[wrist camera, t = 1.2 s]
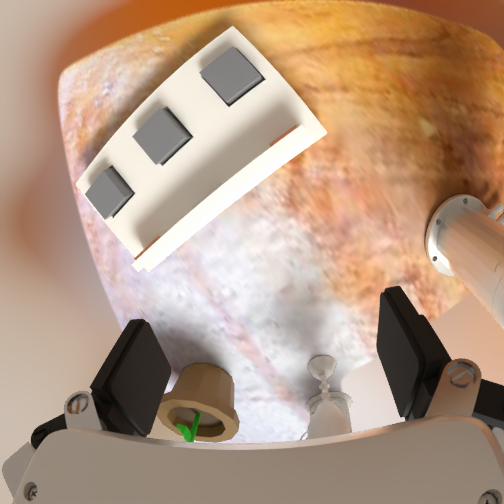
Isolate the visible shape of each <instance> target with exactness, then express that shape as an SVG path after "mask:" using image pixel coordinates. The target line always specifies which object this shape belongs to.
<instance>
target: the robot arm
mask: <svg viewBox="0 0 504 504" xmlns="http://www.w3.org/2000/svg"><path fill="white" fill-rule="evenodd" d="M503 209H504V207H503V205H502V203H501V202H498V203H497V204H495V205H494V206H493V208H492V209H486V207H485V205H484V204H483V203H482V202H481V201H480V200H479V199H477V198H475V197H474V196H471V195H468V194H459V195H455V196H453V197H450V198H448V199H447V200H446V201H445V202H443V203H442V204H441V205H440V206H439V207H438V209H437V210H436V212H435V213H434V215H433V216H432V218H431V220H430V223H429V226H428V229H427V233H426V239H425V247H426V253H427V256H428V259H429V261H430V263H431V264H432V266H433V267H434V268H435V269H436V270H437V271H438V272H440V273H441V274H444V275H446V276H457V277H458V278H459V279H460V280H461V281H462V282H463V284H464V285H465V286H466V287H467V288H468V289H469V290H470V291H471V292H472V293H473V295H474V296H475V297H476V298H477V299H478V300H479V301H480V303H481V304H482V305H483V306H484V307H485V308H486V310H487V311H488V312H489V313H490V315H491V316H492V317H493V318H494V319H495V321H496V322H497V323H498V325H499V326H500V327H501V328H502V329H503V330H504V212H503V213H502V214H501V215H500V216H499V218H498V219H496V220H495V216H496V215H497V214H499V213H500V212H501V211H502V210H503ZM436 220H437V221H436ZM376 346H377V352H378V355H379V358H380V360H381V363H382V366H383V369H384V371H385V374H386V377H387V380H388V382H389V386H390V388H391V391H392V394H393V397H394V400H395V403H396V406H397V409H398V413H399V415H400V417H405V420H406V421H405V422H401V423H396V424H392V425H387V426H383V427H379V428H374V429H370V430H365V431H359V432H354V433H348V434H342V435H336V436H330V437H323V438H316V439H307V440H298V441H286V442H272V443H246V444H223V443H197V442H182V441H171V440H161V439H153V438H146V436H147V435H148V434H150V432H151V429H152V426H153V423H154V420H155V417H156V414H157V412H158V409H159V406H160V403H161V400H162V397H163V394H164V392H165V389H166V386H167V383H168V380H169V378H170V375H171V367H170V364H169V363H168V361H167V359H166V357H165V355H164V353H163V351H162V349H161V347H160V345H159V343H158V341H157V339H156V337H155V335H154V332H153V330H152V328H151V326H150V324H149V323H148V322H146V321H145V320H144V319H132V320H130V321H129V323H128V324H127V326H126V327H125V329H124V331H123V332H122V334H121V335H120V337H119V339H118V340H117V342H116V343H115V345H114V347H113V348H112V350H111V352H110V353H109V355H108V357H107V358H106V360H105V362H104V363H103V365H102V367H101V369H100V370H99V372H98V374H97V375H96V377H95V379H94V381H93V382H92V384H91V386H90V388H91V389H92V393H91V394H90V393H89V392H87V391H79V392H76V393H74V394H72V395H71V396H70V397H69V398H68V399H67V401H66V402H65V405H64V414H62V415H60V416H58V417H56V418H54V419H52V420H50V421H48V422H46V423H44V424H42V425H40V426H39V427H37V428H36V429H35V430H34V432H33V434H32V436H31V444H30V443H29V442H27V443H26V444H25V445H24V446H22V447H21V448H20V449H19V450H18V451H17V452H16V453H14V454H13V455H12V456H11V457H10V458H9V459H7V460H6V462H5V463H4V464H3V467H2V472H3V476H4V478H5V481H6V483H7V485H8V488H9V490H10V492H11V494H12V496H13V498H14V500H13V503H12V504H504V386H503V385H500V384H497V383H493V382H490V381H487V380H484V379H481V371H480V369H479V367H478V366H477V365H476V364H475V363H474V362H473V361H471V360H468V359H462V358H460V359H455V360H452V359H451V358H450V356H449V354H448V353H447V351H446V349H445V348H444V346H443V344H442V343H441V341H440V339H439V338H438V336H437V335H436V333H435V331H434V330H433V328H432V327H431V325H430V323H429V322H428V320H427V319H426V317H425V316H424V315H422V314H421V315H419V314H418V312H417V311H416V309H415V308H414V306H413V305H412V303H411V302H410V300H409V299H408V297H407V296H406V294H405V293H404V291H403V290H402V288H401V287H400V286H395V287H389V288H386V289H385V291H384V292H383V293H381V295H380V309H379V323H378V334H377V344H376Z"/></svg>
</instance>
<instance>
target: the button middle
mask: <svg viewBox="0 0 504 504" xmlns="http://www.w3.org/2000/svg"><path fill="white" fill-rule="evenodd" d="M132 137H133V138H134V139H135V141H136V142H137V143H138V144H139V146H140V147H141V148H142V149H143V150H144V152H145V153H146V154H147V155H148V156H149V158H150V159H151V160H152V161H153V162H154V163H155V165H157V164H160V163H163V162H166V161H167V160H168V159H169V158H170V157H171V156H172V155H173V154H174V153H175V152H176V151H178V150H179V149H180V148H181V147H182V146H183V145H184V144H185V143H186V142H187V141H188V140H190V139H191V138H192V137H193V136H192V135H191V134H190V133H189V131H188V130H187V129H186V128H185V127H184V126H183V124H182V123H181V122H180V121H179V120H178V119H177V118H176V116H175V115H174V114H173V113H172V112H171V111H170V110H168V109H160V108H159V109H158V110H157V111H156V112H155V113H154V114H153V115H152V116H151V117H150V118H149V119H148V120H147V121H146V122H145V123H144V124H143V125H142V126H141V127H140V129H139V130H138V131H137V132H136V133H135V134H134V135H133V136H132Z"/></svg>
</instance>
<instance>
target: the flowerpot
mask: <svg viewBox="0 0 504 504" xmlns="http://www.w3.org/2000/svg"><path fill="white" fill-rule="evenodd" d="M156 415H157V416H158V418H159V419H160V421H161V422H162V423H163V425H165V426H166V427H168V428H169V429H171V430H172V431H174V432H175V433H177V434H178V435H181V436H183V437H184V439H185V440H186V441H187V442H194V440H196V441H203V442H215V443H216V442H221V441H225V440H230V439H232V438H233V436H234V435H235V434H236V433H237V432H238V428H239V422H240V421H239V419H238V416H237V413H236V410H234V383H233V380H232V377H231V376H230V375H229V374H228V373H227V372H225V371H224V370H223V369H222V368H219V367H216V366H213V365H211V364H206V363H194V364H192V365H190V366H188V367H185V368H184V370H183V372H182V373H181V375H180V377H179V379H178V380H177V382H176V384H175V385H174V387H173V389H172V391H171V392H168V393H166V394H163V397H162V400H161V403H160V406H159V409H158V412H157V414H156Z"/></svg>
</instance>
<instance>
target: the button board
mask: <svg viewBox="0 0 504 504" xmlns="http://www.w3.org/2000/svg"><path fill="white" fill-rule="evenodd" d="M232 46H233V47H234V48H235V49H236V50H237V51H238V52H239V53H240V54H241V55H242V56H243V57H244V58H245V59H246V60H247V61H248V62H249V63H250V64H251V65H252V66H253V67H254V69H255V70H256V71H257V72H258V73H259V74H260V75H261V77H262V80H263V81H261V82H260V83H258V84H257V85H256V86H254V87H253V88H252V89H250V90H249V91H248V92H246V93H245V94H244V95H242V96H241V97H240V98H239V99H237V100H236V101H235V102H233V103H232V104H229V103H227V102H225V100H224V99H223V98H222V97H221V96H220V95H219V94H218V93H217V91H216V90H215V89H214V88H213V87H212V86H211V85H210V84H209V83H208V82H207V81H206V79H205V78H204V77H203V76H202V75H201V74H200V73H199V72H200V71H201V70H203V69H204V68H205V67H206V66H207V65H209V64H210V63H211V62H212V61H214V60H215V59H216V58H218V57H219V56H220V55H221V54H223V53H224V52H225V51H227V50H228V49H229V48H231V47H232ZM159 108H160V109H168V110H170V111H171V112H172V113H173V114H174V115H175V116H176V118H177V119H178V120H179V121H180V122H181V123H182V124H183V126H184V127H185V128H186V129H187V130H188V131H189V133H190V134H191V135H192V136H193V137H192V138H191V139H190V140H188V141H187V142H186V143H185V144H184V145H183V146H182V147H181V148H180V149H179V150H178V151H176V152H175V153H174V154H173V155H172V156H171V157H170V158H169V159H168V160H167V161H166V162H163V163H160V164H157V165H155V163H154V162H153V161H152V160H151V159H150V158H149V156H148V155H147V154H146V153H145V152H144V150H143V149H142V148H141V147H140V146H139V144H138V143H137V142H136V141H135V139H134V138H133V137H132V136H133V135H134V134H135V133H136V132H137V131H138V130H139V129H140V127H141V126H142V125H143V124H144V123H145V122H146V121H147V120H148V119H149V118H150V117H151V116H152V115H153V114H154V113H155V112H156V111H157V110H158V109H159ZM326 134H327V132H326V130H325V129H324V128H323V126H322V125H321V124H320V122H319V121H318V120H317V118H316V117H315V116H314V114H313V113H312V112H311V111H310V109H309V108H308V107H307V106H306V104H305V103H304V102H303V101H302V99H301V98H300V97H299V96H298V95H297V93H296V92H295V91H294V90H293V89H292V87H291V86H290V85H289V84H288V83H287V82H286V81H285V79H284V78H283V77H282V76H281V75H280V74H279V73H278V71H277V70H276V69H275V68H274V67H273V66H272V65H271V64H270V63H269V62H268V61H267V59H266V58H265V57H264V56H263V55H262V54H261V53H260V52H259V51H258V50H257V49H256V48H255V47H254V46H253V45H252V44H251V43H250V42H249V41H248V40H247V39H246V38H245V37H244V36H243V35H242V34H241V33H240V32H239V31H238V30H237V29H236V28H235V27H234V26H232V27H230V28H229V29H228V30H226V31H225V32H223V33H222V34H221V35H219V36H218V37H217V38H215V39H214V40H213V41H211V42H210V43H209V44H207V45H206V46H205V47H204V48H202V49H201V50H200V51H199V52H197V53H196V54H195V55H194V56H193V57H191V58H190V59H189V60H188V61H187V62H185V63H184V64H183V65H182V66H181V67H180V68H179V69H177V70H176V71H175V72H174V73H173V74H172V75H171V76H170V77H169V78H168V79H166V80H165V81H164V82H163V83H162V84H161V85H160V86H159V87H158V88H157V89H156V90H155V91H154V92H153V93H152V94H151V95H150V96H149V97H148V98H147V99H146V100H145V101H144V102H143V103H142V104H141V105H140V106H139V107H138V108H137V109H136V110H135V111H134V112H133V114H132V115H131V116H130V117H129V118H128V119H127V120H126V121H125V122H124V123H123V125H122V126H121V127H120V128H119V129H118V130H117V131H116V133H115V134H114V135H113V136H112V137H111V139H110V140H109V141H108V142H107V143H106V145H105V146H104V147H103V148H102V150H101V151H100V152H99V153H98V155H97V156H96V157H95V158H94V160H93V161H92V162H91V164H90V165H89V166H88V168H87V169H86V170H85V172H84V173H83V174H82V176H81V177H80V179H79V180H78V181H77V183H76V184H75V185H76V186H77V187H78V189H79V190H80V191H81V193H82V194H83V195H84V197H85V198H86V199H87V200H88V202H89V203H90V204H91V205H92V207H93V208H94V209H95V211H96V212H97V213H98V214H99V216H100V217H101V218H102V219H103V220H104V222H105V223H106V224H107V225H108V227H109V228H110V229H111V230H112V231H113V233H114V234H115V235H116V236H117V237H118V238H119V240H120V241H121V242H122V243H123V244H124V245H125V247H126V248H127V249H128V250H129V251H130V252H131V253H132V255H133V256H134V257H135V258H134V259H135V260H136V261H135V262H134V263H133V264H132V266H133V267H134V268H135V269H136V270H137V271H138V272H139V271H140V270H141V269H142V268H143V267H144V268H145V269H146V270H147V271H148V272H149V271H150V270H152V269H153V268H154V267H155V266H156V265H157V264H159V263H160V262H161V261H162V260H163V259H164V258H166V257H167V256H168V255H169V254H170V253H172V252H173V251H174V250H175V249H176V248H178V247H179V246H180V245H181V244H182V243H184V242H185V241H186V240H187V239H188V238H190V237H191V236H192V235H193V234H195V233H196V232H197V231H198V230H199V229H201V228H202V227H203V226H204V225H206V224H207V223H208V222H209V221H211V220H212V219H213V218H214V217H216V216H217V215H218V214H219V213H221V212H222V211H223V210H225V209H226V208H227V207H228V206H230V205H231V204H232V203H233V202H235V201H236V200H237V199H239V198H240V197H241V196H243V195H244V194H245V193H246V192H248V191H249V190H250V189H252V188H253V187H254V186H256V185H257V184H258V183H260V182H261V181H262V180H264V179H265V178H266V177H268V176H269V175H270V174H272V173H273V172H274V171H276V170H277V169H278V168H280V167H281V166H282V165H284V164H285V163H286V162H288V161H289V160H291V159H292V158H293V157H295V156H296V155H298V154H299V153H300V152H302V151H303V150H304V149H306V148H307V147H309V146H310V145H312V144H313V143H314V142H316V141H317V140H319V139H320V138H321V137H323V136H324V135H326ZM112 167H114V168H115V169H116V170H117V171H118V173H119V174H120V175H121V176H122V177H123V179H124V180H125V181H126V182H127V184H128V185H129V186H130V187H131V188H132V190H133V191H134V192H135V193H134V194H133V196H132V197H131V198H130V199H129V200H128V201H127V202H126V203H125V204H124V205H123V206H122V208H121V209H120V210H119V211H118V212H117V213H116V214H114V215H112V216H111V217H109V218H107V219H106V220H105V219H104V218H103V217H102V216H101V214H100V213H99V212H98V211H97V209H96V208H95V207H94V206H93V204H92V203H91V202H90V201H89V199H88V198H87V197H86V195H85V193H86V192H87V190H88V189H89V188H90V186H91V185H92V184H93V182H94V181H95V180H96V179H97V177H98V176H99V175H100V174H101V172H102V171H103V170H106V169H109V168H112Z"/></svg>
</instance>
